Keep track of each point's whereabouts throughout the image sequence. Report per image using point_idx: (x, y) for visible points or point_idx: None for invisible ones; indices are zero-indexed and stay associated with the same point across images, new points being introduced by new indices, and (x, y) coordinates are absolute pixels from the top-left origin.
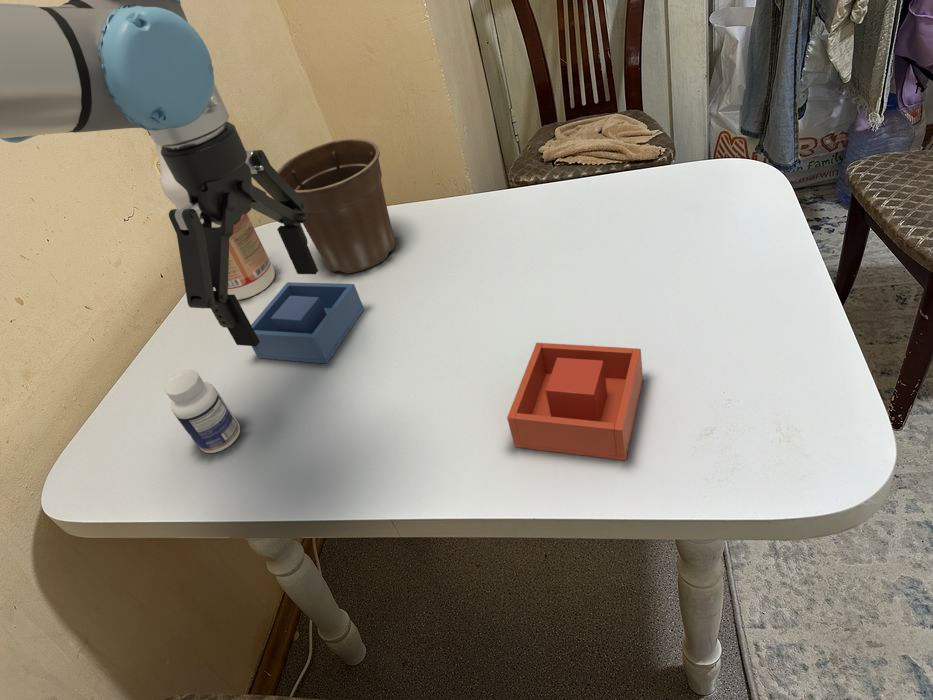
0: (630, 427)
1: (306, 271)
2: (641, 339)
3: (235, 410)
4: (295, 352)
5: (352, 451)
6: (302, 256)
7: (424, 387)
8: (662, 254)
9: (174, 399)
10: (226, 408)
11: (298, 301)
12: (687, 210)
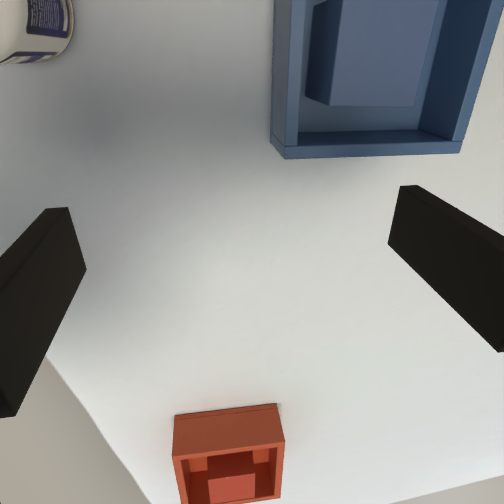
0: None
1: (397, 224)
2: (322, 447)
3: None
4: (277, 75)
5: (108, 281)
6: (426, 258)
7: (237, 313)
8: (444, 431)
9: None
10: (33, 54)
11: (406, 50)
12: None
